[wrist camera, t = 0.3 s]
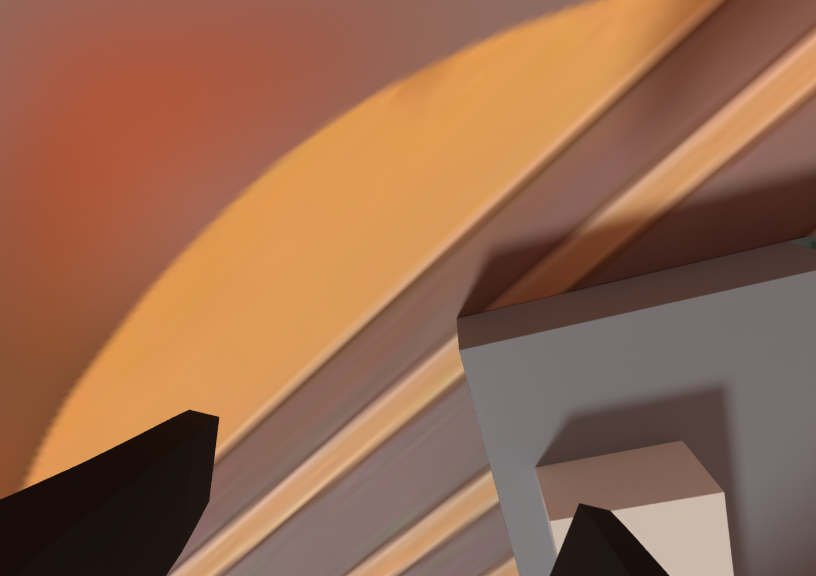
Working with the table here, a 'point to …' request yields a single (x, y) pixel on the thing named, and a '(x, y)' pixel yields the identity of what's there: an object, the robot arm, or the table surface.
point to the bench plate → (662, 394)
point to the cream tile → (647, 504)
